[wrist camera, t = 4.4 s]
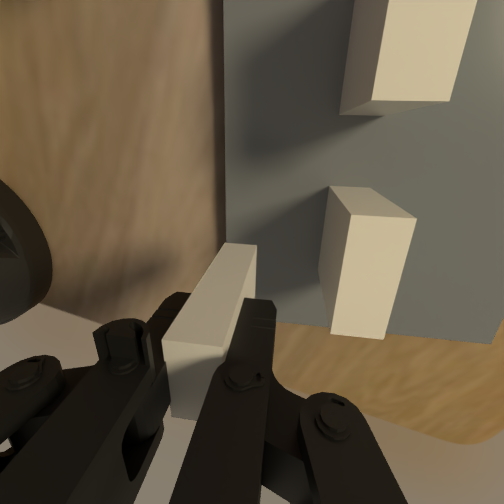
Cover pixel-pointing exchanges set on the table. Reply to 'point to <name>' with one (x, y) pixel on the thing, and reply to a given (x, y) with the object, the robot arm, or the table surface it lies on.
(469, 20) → the tile
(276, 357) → the table surface
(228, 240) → the slate board
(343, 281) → the tile
